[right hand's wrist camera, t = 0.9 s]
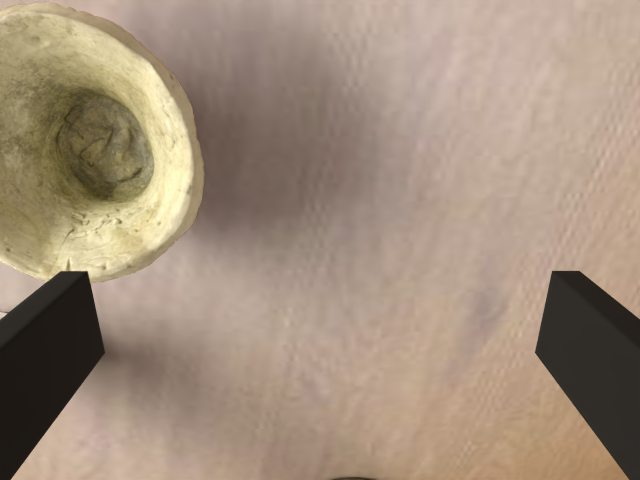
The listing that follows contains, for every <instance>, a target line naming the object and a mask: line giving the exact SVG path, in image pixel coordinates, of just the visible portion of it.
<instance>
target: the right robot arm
mask: <svg viewBox="0 0 640 480" xmlns="http://www.w3.org/2000/svg"><path fill="white" fill-rule="evenodd" d="M104 353H105V351H104V346H103V341H102V336H101V332H100V327H99V322H98V317H97V313H96V308H95V303H94V298H93V294H92V289H91V284H90V279H89V274H88V271H60V272H59V273H58V274H56V275H55V276H54V277H53V278H51V279H50V280H49V281H48V282H46V283H45V284H44V285H43V286H41V287H40V288H39V289H38V290H36V291H35V292H34V293H33V294H31V295H30V296H29V297H28V298H26V299H25V300H24V301H23V302H21V303H20V304H19V305H18V306H16V307H15V308H14V309H13V310H11V311H10V312H9V313H8V314H6V315H5V316H4V317H3V318H1V319H0V480H11V479H12V477H13V476H14V474H15V473H16V472H17V470H18V469H19V468H20V466H21V465H22V464H23V462H24V461H25V460H26V458H27V457H28V456H29V454H30V453H31V452H32V450H33V449H34V448H35V446H36V445H37V444H38V442H39V441H40V439H41V438H42V437H43V435H44V434H45V433H46V431H47V430H48V429H49V427H50V426H51V425H52V423H53V422H54V421H55V419H56V418H57V417H58V415H59V414H60V413H61V411H62V410H63V409H64V407H65V406H66V404H67V403H68V402H69V400H70V399H71V398H72V396H73V395H74V394H75V392H76V391H77V390H78V388H79V387H80V386H81V384H82V383H83V382H84V380H85V379H86V378H87V376H88V375H89V374H90V372H91V371H92V369H93V368H94V367H95V365H96V364H97V363H98V361H99V360H100V359H101V357H102V356H103V355H104ZM535 353H536V355H537V356H538V357H539V359H540V360H541V361H542V363H543V364H544V365H545V367H546V368H547V369H548V371H549V372H550V374H551V375H552V376H553V378H554V379H555V380H556V382H557V383H558V384H559V386H560V387H561V388H562V390H563V391H564V392H565V394H566V395H567V396H568V398H569V399H570V400H571V402H572V403H573V404H574V406H575V407H576V409H577V410H578V411H579V413H580V414H581V415H582V417H583V418H584V419H585V421H586V422H587V423H588V425H589V426H590V427H591V429H592V430H593V431H594V433H595V434H596V435H597V437H598V438H599V439H600V441H601V442H602V444H603V445H604V446H605V448H606V449H607V450H608V452H609V453H610V454H611V456H612V457H613V458H614V460H615V461H616V462H617V464H618V465H619V466H620V468H621V469H622V470H623V472H624V473H625V475H626V476H627V477H628V479H629V480H640V319H639V318H637V317H636V316H635V315H634V314H632V313H631V312H630V311H629V310H627V309H626V308H625V307H624V306H622V305H621V304H620V303H619V302H617V301H616V300H615V299H614V298H612V297H611V296H610V295H609V294H607V293H606V292H605V291H604V290H602V289H601V288H600V287H599V286H597V285H596V284H595V283H594V282H592V281H591V280H590V279H589V278H587V277H586V276H585V275H584V274H582V273H581V272H580V271H552V274H551V279H550V284H549V289H548V294H547V298H546V303H545V308H544V313H543V317H542V322H541V327H540V332H539V336H538V341H537V346H536V351H535ZM335 480H366V479H358V478H343V479H335Z"/></svg>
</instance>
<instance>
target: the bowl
mask: <svg viewBox="0 0 640 480" xmlns="http://www.w3.org/2000/svg"><path fill="white" fill-rule="evenodd" d="M196 137H197V134H196V126H195V122H194V114H193V109H192V105H191V103H190V102H189V100H188V98H187V95H186V93H185V92H184V90H183V88H182V87H181V85H180V83H179V82H178V80H177V79H176V77H175V76H174V75H173V74H172V73H171V72H170V71H169V70H168V69H167V68H166V67H165V66H164V64H163V63H162V62H161V61H160V60H159V59H158V58H157V57H156V56H155V55H154V54H153V53H152V52H150V51H149V50H148V49H147V48H146V47H144V46H143V45H142V43H141V42H139V41H138V40H137V39H136V38H135V37H134V36H133V35H132V34H130V33H129V32H127V31H126V30H124V29H123V28H122V27H120V26H118V25H117V24H115V23H113V22H111V21H109V20H107V19H104V18H101V17H97V16H93V15H92V14H90V13H87V12H82V11H77V10H75V9H73V8H71V7H63V6H60V5H58V4H53V3H38V4H29V5H23V4H22V5H14V6H10V7H7V8H5V9H3V10H2V11H0V261H1V262H3V263H5V264H7V265H9V266H11V267H13V268H15V269H16V270H18V271H20V272H23V273H26V274H28V275H31V276H33V277H35V278H38V279H40V280H43V281H45V282H48V281H49V280H50V279H51V278H53V277H54V276H55V275H56V274H58V273H59V272H60V271H88V274H89V279H90V284H91V283H97V282H104V281H108V280H112V279H115V278H118V277H121V276H124V275H128V274H131V273H134V272H136V271H139V270H141V269H143V268H144V267H147V266H149V265H150V264H152V263H153V262H154V261H155V260H156V259H157V258H158V257H160V256H161V255H162V254H163V253H165V252H166V251H167V250H168V248H170V247H171V246H172V245H173V244H174V243H175V241H176V240H178V239H179V238H180V237H181V236H182V235H183V234H184V233H185V232H186V231H187V230H188V229H189V227H190V226H191V225H192V224H193V221H194V220H195V219H196V216H197V212H198V209H199V206H200V204H201V202H202V196H203V186H204V173H205V171H204V162H203V159H202V153H201V149H200V142H199V141H198V140H197V138H196Z"/></svg>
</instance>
